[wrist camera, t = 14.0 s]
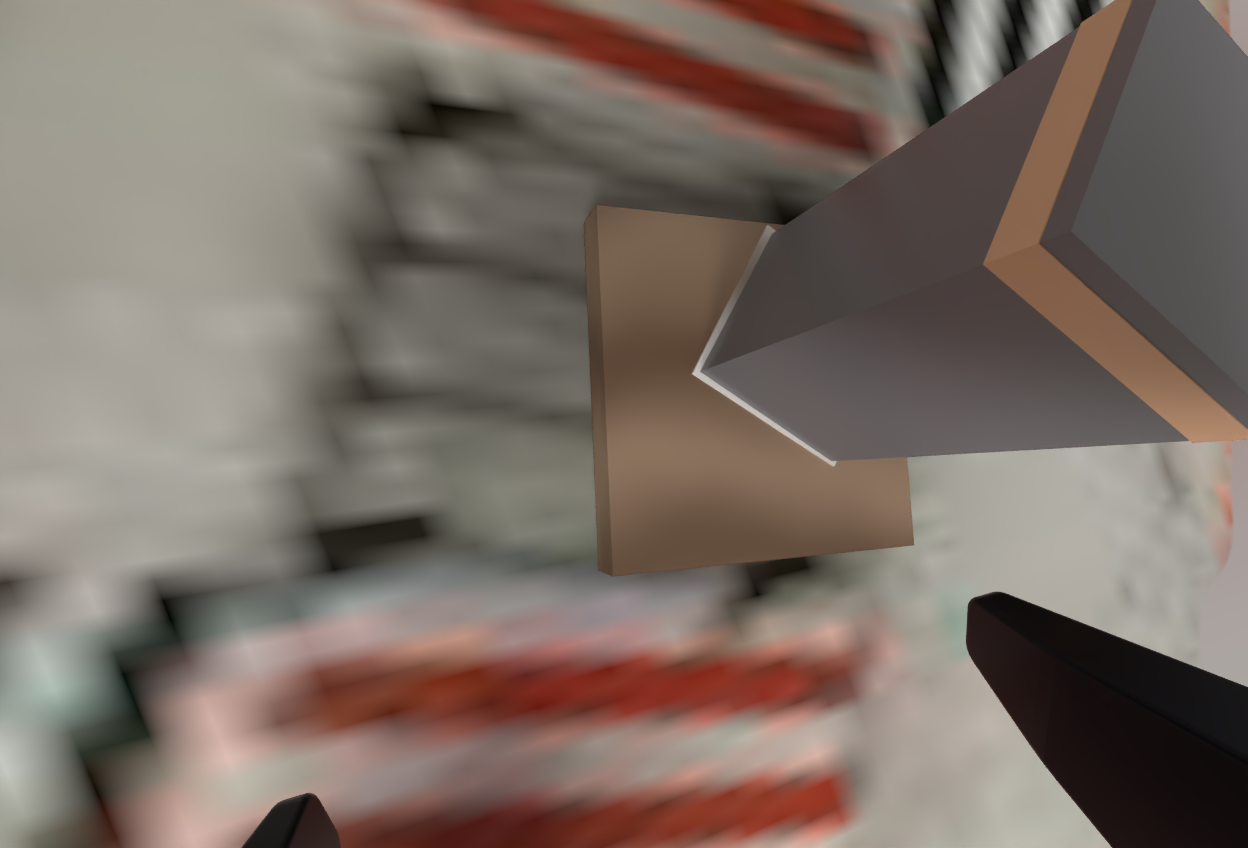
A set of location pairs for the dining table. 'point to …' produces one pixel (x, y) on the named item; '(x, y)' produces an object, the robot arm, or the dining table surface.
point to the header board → (704, 415)
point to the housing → (1025, 263)
